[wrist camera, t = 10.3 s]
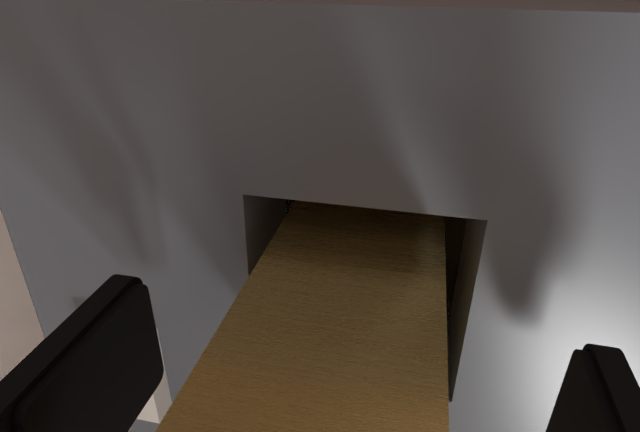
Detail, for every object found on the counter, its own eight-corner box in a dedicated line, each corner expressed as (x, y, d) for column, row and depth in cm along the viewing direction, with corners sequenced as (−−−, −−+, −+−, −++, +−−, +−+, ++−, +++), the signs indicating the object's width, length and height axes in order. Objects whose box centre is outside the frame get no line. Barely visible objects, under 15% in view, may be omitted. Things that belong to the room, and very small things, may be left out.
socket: (865, 5, 10) (1114, 30, 6) (645, 444, 17) (705, 582, 13) (39, -14, 14) (-109, -5, 10) (127, 351, 20) (57, 437, 17)
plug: (443, 187, 14) (452, 552, 5) (427, 297, 16) (414, 699, 7) (310, 174, 15) (127, 477, 6) (310, 281, 17) (170, 627, 8)
